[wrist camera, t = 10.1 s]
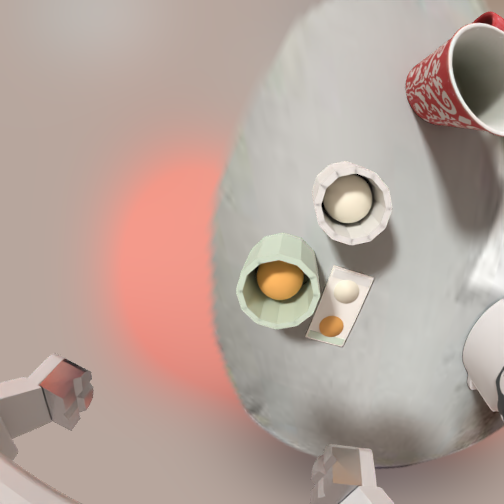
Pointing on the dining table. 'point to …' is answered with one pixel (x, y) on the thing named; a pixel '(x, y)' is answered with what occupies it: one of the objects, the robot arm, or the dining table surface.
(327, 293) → the card
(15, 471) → the robot arm
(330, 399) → the dining table surface
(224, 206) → the dining table surface
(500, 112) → the mug
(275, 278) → the ball orange
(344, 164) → the tube grey
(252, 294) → the tube green
